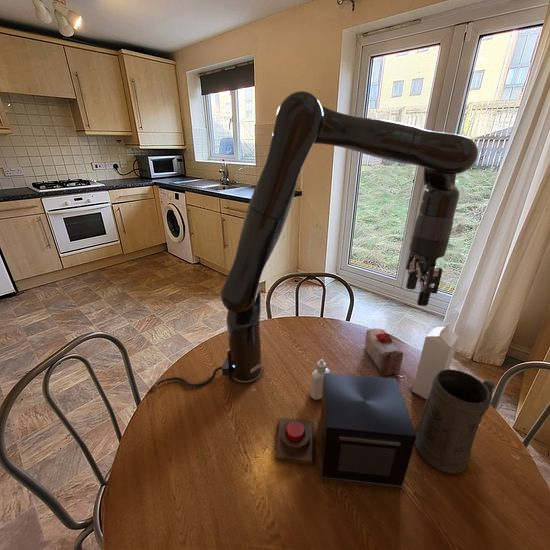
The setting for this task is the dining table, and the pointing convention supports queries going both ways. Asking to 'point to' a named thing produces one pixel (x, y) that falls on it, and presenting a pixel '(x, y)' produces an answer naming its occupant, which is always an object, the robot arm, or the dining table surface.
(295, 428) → the button
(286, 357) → the dining table surface
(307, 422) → the housing
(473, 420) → the beer stein
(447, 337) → the milk
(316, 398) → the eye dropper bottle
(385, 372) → the food item
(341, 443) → the oven
